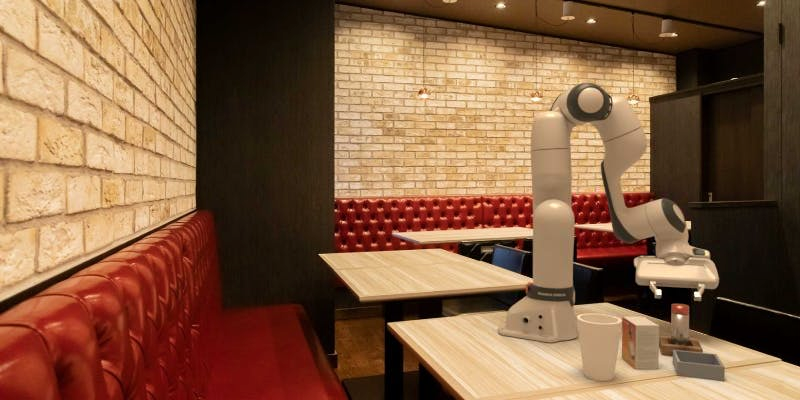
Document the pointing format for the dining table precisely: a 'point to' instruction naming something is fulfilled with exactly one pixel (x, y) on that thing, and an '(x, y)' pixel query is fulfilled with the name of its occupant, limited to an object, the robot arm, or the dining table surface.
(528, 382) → the dining table surface
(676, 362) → the tray
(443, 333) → the dining table surface
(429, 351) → the dining table surface
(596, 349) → the foam cup
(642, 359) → the small box
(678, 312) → the red-lidded jar
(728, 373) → the dining table surface
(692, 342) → the wooden square frame
